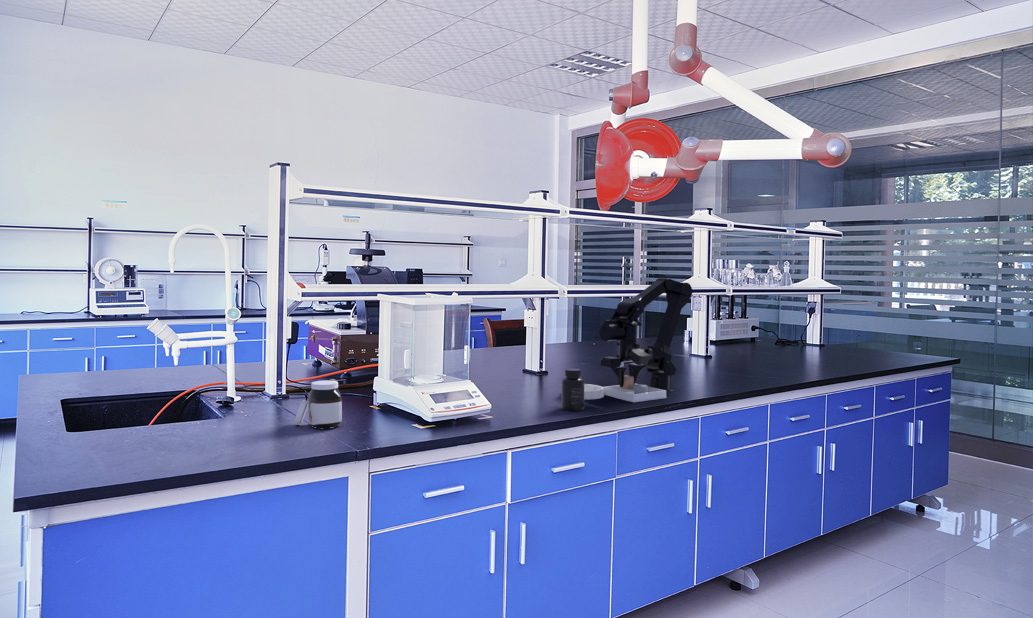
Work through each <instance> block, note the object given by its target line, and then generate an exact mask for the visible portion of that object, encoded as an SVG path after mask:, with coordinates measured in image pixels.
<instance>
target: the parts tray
mask: <svg viewBox="0 0 1033 618" xmlns="http://www.w3.org/2000/svg"><path fill="white" fill-rule="evenodd" d="M636 384H637V383H635V384H634V385H636ZM602 387H603V388H604V396H606V397H607V396H608V397H612V398H615V399H618V400H619V399H620V400H621V401H626V402H631V403H639V402H647V401H654V400H655V401H656V400H663V399H667V392H666V390H661V389H657V388H653V387H650V386H648V392H647V393H639V394H634V389H630V390H626V389H621V388H620V385H619V384H618V385H617V384H616V385H608V386H602Z"/></svg>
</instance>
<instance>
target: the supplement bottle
mask: <svg viewBox="0 0 1033 618" xmlns="http://www.w3.org/2000/svg"><path fill="white" fill-rule="evenodd" d="M564 376H565V377H564V378H563V379H562V380H561V409H562V410H563V411H568V412H569V411H570V412H579V411H583V410H584V409H585V399H584V384H585V380H584V379H583V378H582V377H581V376H582V369H581V368H565V370H564Z"/></svg>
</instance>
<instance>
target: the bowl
mask: <svg viewBox="0 0 1033 618" xmlns="http://www.w3.org/2000/svg"><path fill="white" fill-rule="evenodd" d="M603 387H604V386H601V385H598V384H591V383H590V384H589V383H584V400H598V399H602V398H604V397H605V395H604V388H603Z"/></svg>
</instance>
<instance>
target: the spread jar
mask: <svg viewBox="0 0 1033 618" xmlns="http://www.w3.org/2000/svg"><path fill="white" fill-rule="evenodd" d="M310 384H311V385H310V387H311V390H310V391H309V394H308V399H307V400H304V399H303V400H302V401H301V403H300V405H299V407H298V410H297V412H296V416H295V419H294V422H293V425H294V426H296V425H300V423H301V422H303V420H304V418H305V416H306V413H307V410H308V417H307V418H308V423H309V425H311V426H313V427H316V428H330V427H336V426H338V425H339V426H340V425H341V424H342V420H343V418H342V417H343V416H342V415H343V409H342V407H343V405H342V403H343V401H342V400H343V399H342V396H341V393H340V390H339V389H338V388H339V382H338V381H337V380H330V379H329V380H326V379H324V380H315V381H312V382H311V383H310ZM301 424H302V423H301ZM300 426H301V425H300ZM311 426H310V427H311ZM339 426H338V427H339ZM336 428H337V427H336Z"/></svg>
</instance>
